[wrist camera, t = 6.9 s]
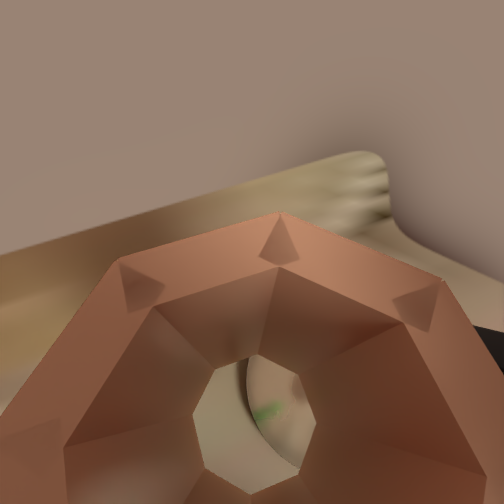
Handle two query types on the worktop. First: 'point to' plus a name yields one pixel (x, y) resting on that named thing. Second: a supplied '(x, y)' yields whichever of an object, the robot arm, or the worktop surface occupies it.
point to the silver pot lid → (280, 408)
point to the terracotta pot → (276, 350)
